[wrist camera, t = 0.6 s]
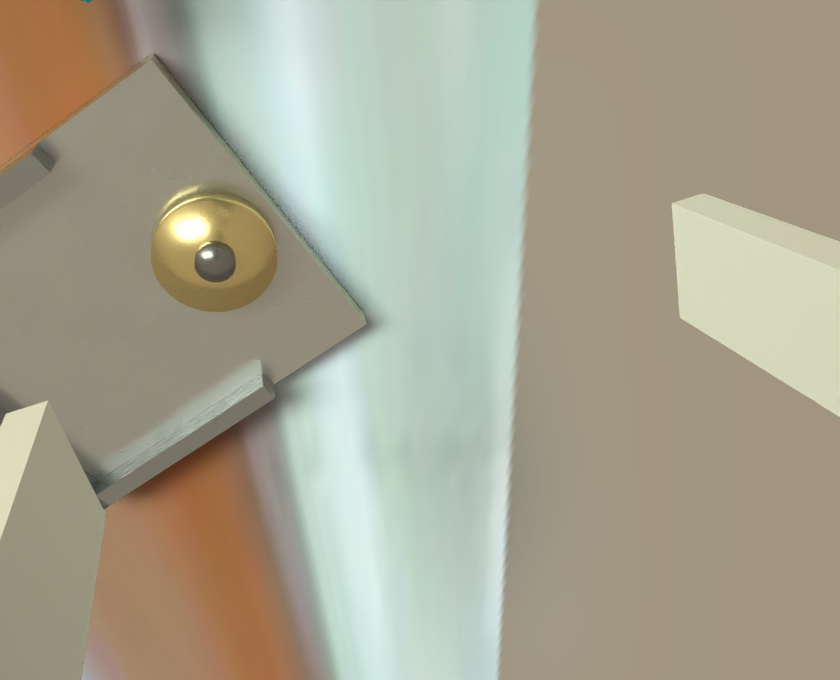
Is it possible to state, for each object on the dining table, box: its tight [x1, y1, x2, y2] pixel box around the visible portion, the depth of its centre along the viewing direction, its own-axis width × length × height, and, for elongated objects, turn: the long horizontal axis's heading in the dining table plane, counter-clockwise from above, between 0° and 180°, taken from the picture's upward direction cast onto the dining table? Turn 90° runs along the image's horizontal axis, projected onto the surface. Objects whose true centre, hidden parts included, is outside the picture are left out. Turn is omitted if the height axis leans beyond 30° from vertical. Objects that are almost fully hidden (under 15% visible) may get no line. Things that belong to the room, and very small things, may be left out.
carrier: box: [0, 54, 367, 509], centre depth 37 cm, size 18×16×3 cm
